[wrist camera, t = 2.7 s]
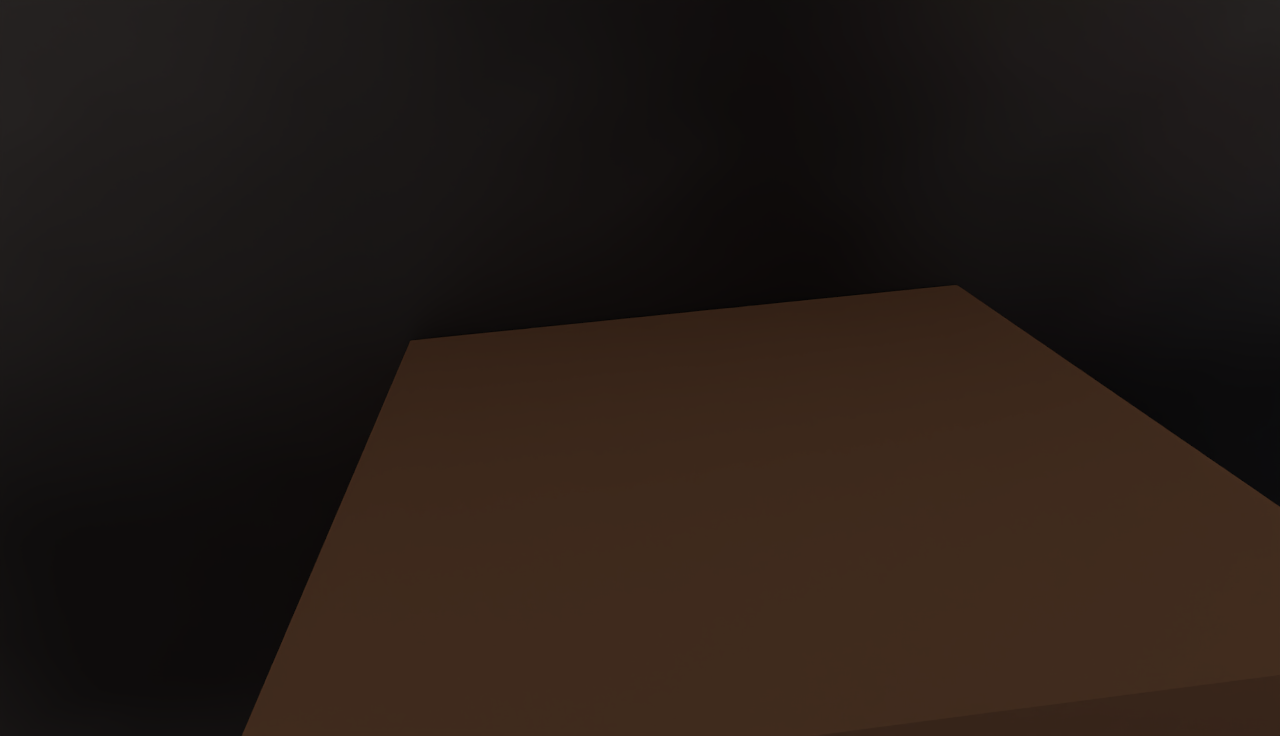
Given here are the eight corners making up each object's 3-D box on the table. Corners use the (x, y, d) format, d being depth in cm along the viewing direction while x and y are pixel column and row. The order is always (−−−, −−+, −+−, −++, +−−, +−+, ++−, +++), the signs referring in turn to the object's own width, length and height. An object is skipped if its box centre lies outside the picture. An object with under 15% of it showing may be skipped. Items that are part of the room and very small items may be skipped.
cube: (957, 284, 9) (1487, 648, 4) (928, 704, 11) (1249, 1295, 6) (410, 340, 9) (207, 815, 4) (489, 761, 11) (433, 1433, 6)
